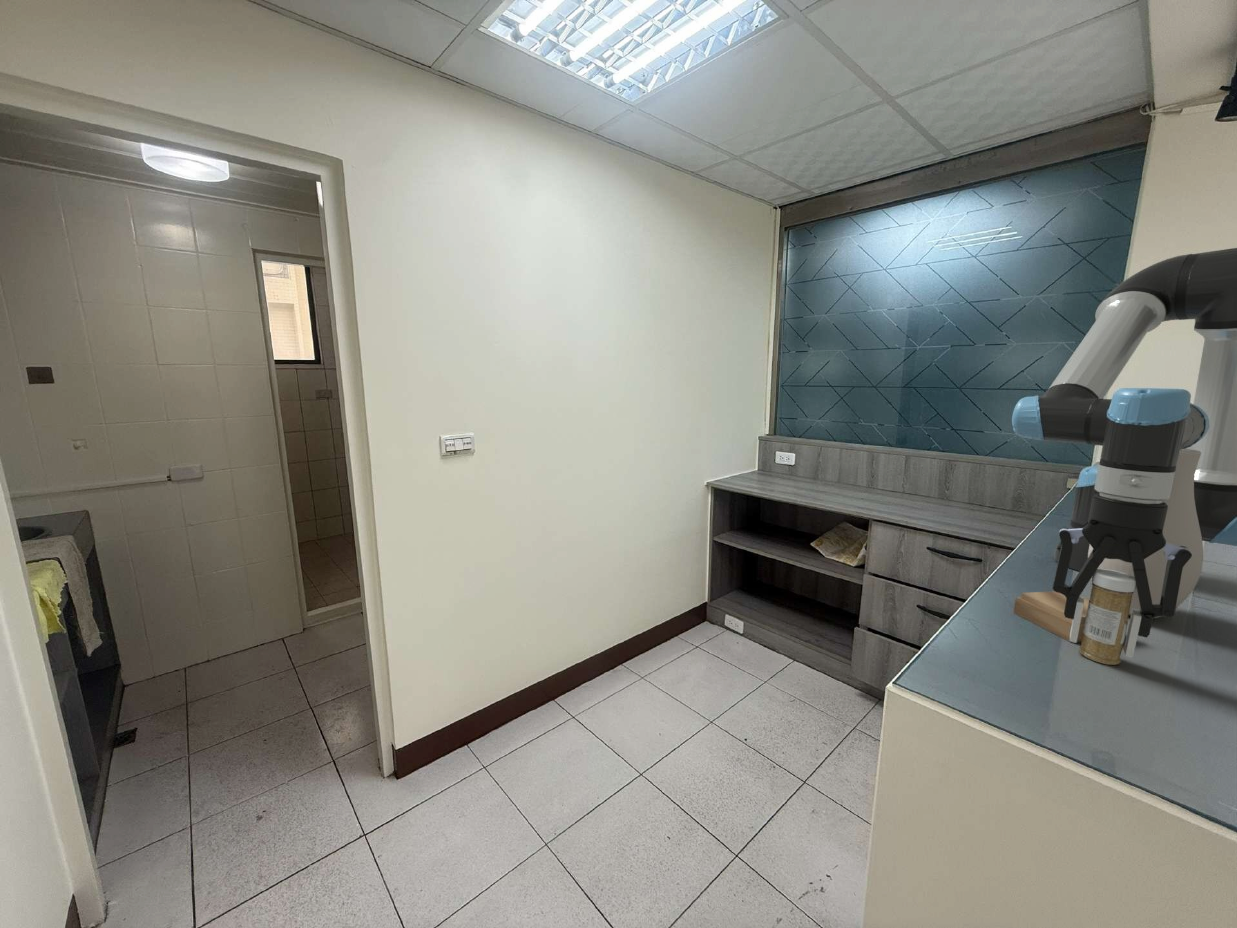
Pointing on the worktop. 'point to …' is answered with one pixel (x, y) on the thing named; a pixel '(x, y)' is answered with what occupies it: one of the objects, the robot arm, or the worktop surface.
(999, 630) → the worktop surface
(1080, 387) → the robot arm
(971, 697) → the worktop surface
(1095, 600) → the sprinkles bottle
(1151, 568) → the vase
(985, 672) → the worktop surface
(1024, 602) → the pedestal
